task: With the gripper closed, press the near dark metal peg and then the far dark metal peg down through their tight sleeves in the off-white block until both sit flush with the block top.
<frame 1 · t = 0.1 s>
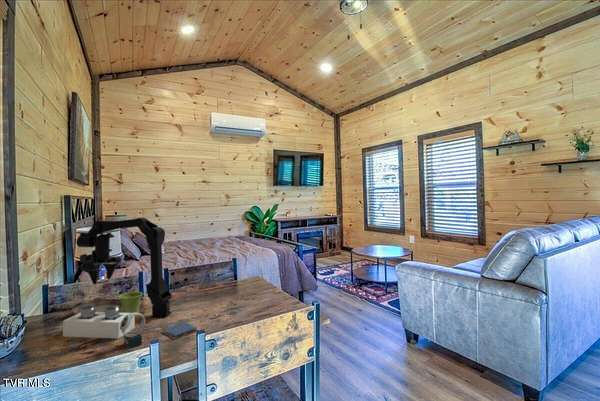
hand: (101, 281, 141), 15 cm above the table, tool pointing down, fingers open, 9 cm apart
plant pot: (130, 314, 141), on the table
sleeve block: (100, 331, 121), on the table
far peg: (88, 313, 122), point 7 cm above the table, slide at 4.0 cm
near peg: (112, 314, 121), point 7 cm above the table, slide at 4.0 cm
woven mat: (179, 333, 122), on the table
watch: (132, 344, 111), on the table
plant saucer: (99, 312, 143), on the table
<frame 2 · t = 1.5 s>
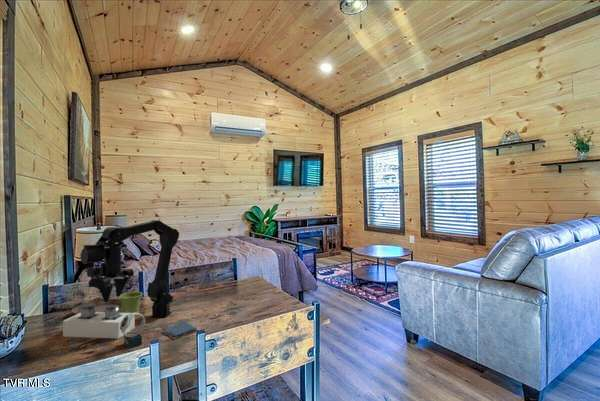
hand: (112, 299, 121), 13 cm above the table, tool pointing down, fingers open, 7 cm apart
nothing on the table moved.
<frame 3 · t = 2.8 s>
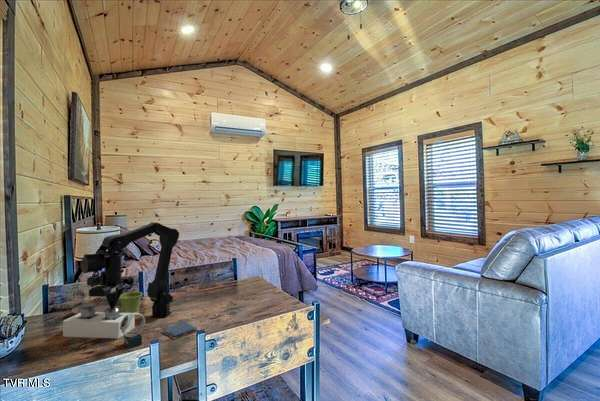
hand: (112, 307, 121), 10 cm above the table, tool pointing down, fingers closed, pressing on near peg
near peg: (112, 315, 121), point 7 cm above the table, slide at 3.6 cm, touching gripper
everything else where it was.
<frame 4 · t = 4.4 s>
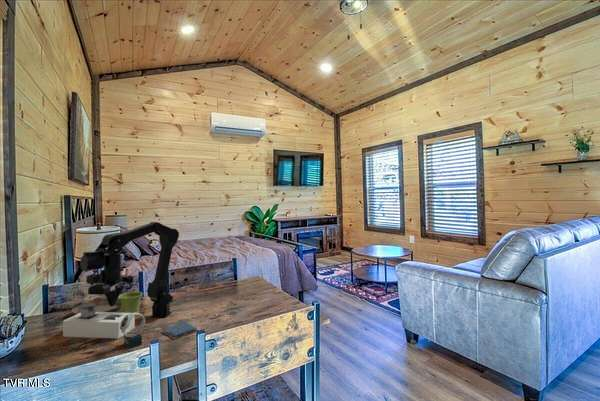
hand: (111, 306, 121), 10 cm above the table, tool pointing down, fingers closed
near peg: (112, 324, 121), point 3 cm above the table, slide at 0.0 cm
everything else where it was.
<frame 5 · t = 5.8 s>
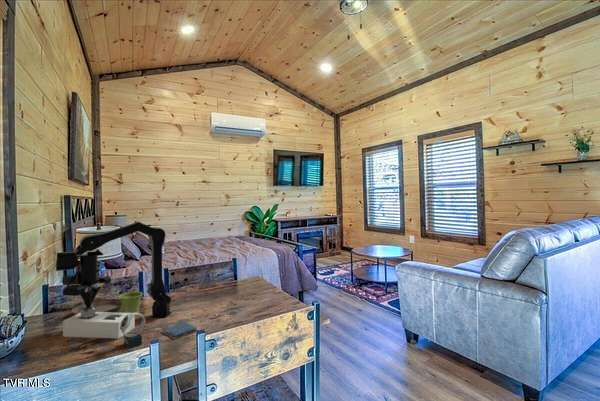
hand: (88, 306, 122), 10 cm above the table, tool pointing down, fingers closed, pressing on far peg
far peg: (88, 313, 122), point 7 cm above the table, slide at 3.7 cm, touching gripper
everything else where it was.
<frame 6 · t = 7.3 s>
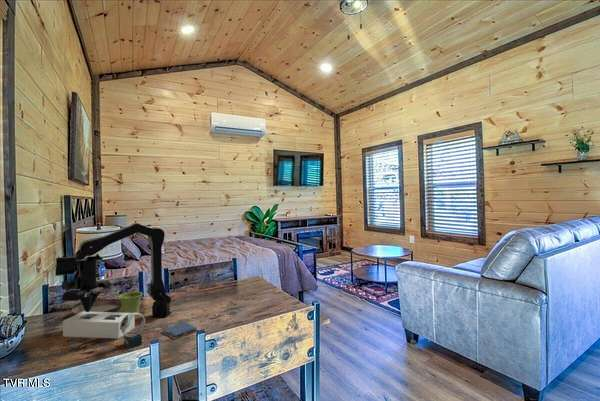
hand: (87, 311, 122), 8 cm above the table, tool pointing down, fingers closed
far peg: (88, 323, 122), point 3 cm above the table, slide at 0.0 cm
everything else where it was.
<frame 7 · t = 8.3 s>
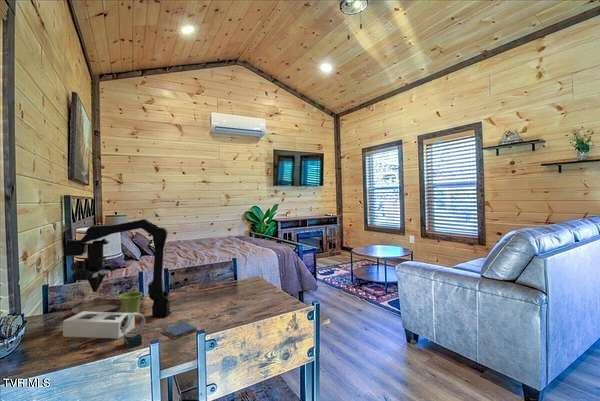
hand: (94, 291, 131), 13 cm above the table, tool pointing down, fingers closed
nothing on the table moved.
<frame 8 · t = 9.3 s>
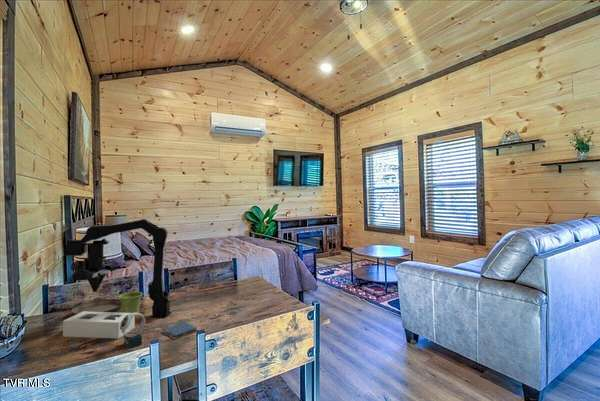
hand: (95, 291, 131), 13 cm above the table, tool pointing down, fingers closed
nothing on the table moved.
at the end: near peg slide at 0.0 cm; far peg slide at 0.0 cm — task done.
